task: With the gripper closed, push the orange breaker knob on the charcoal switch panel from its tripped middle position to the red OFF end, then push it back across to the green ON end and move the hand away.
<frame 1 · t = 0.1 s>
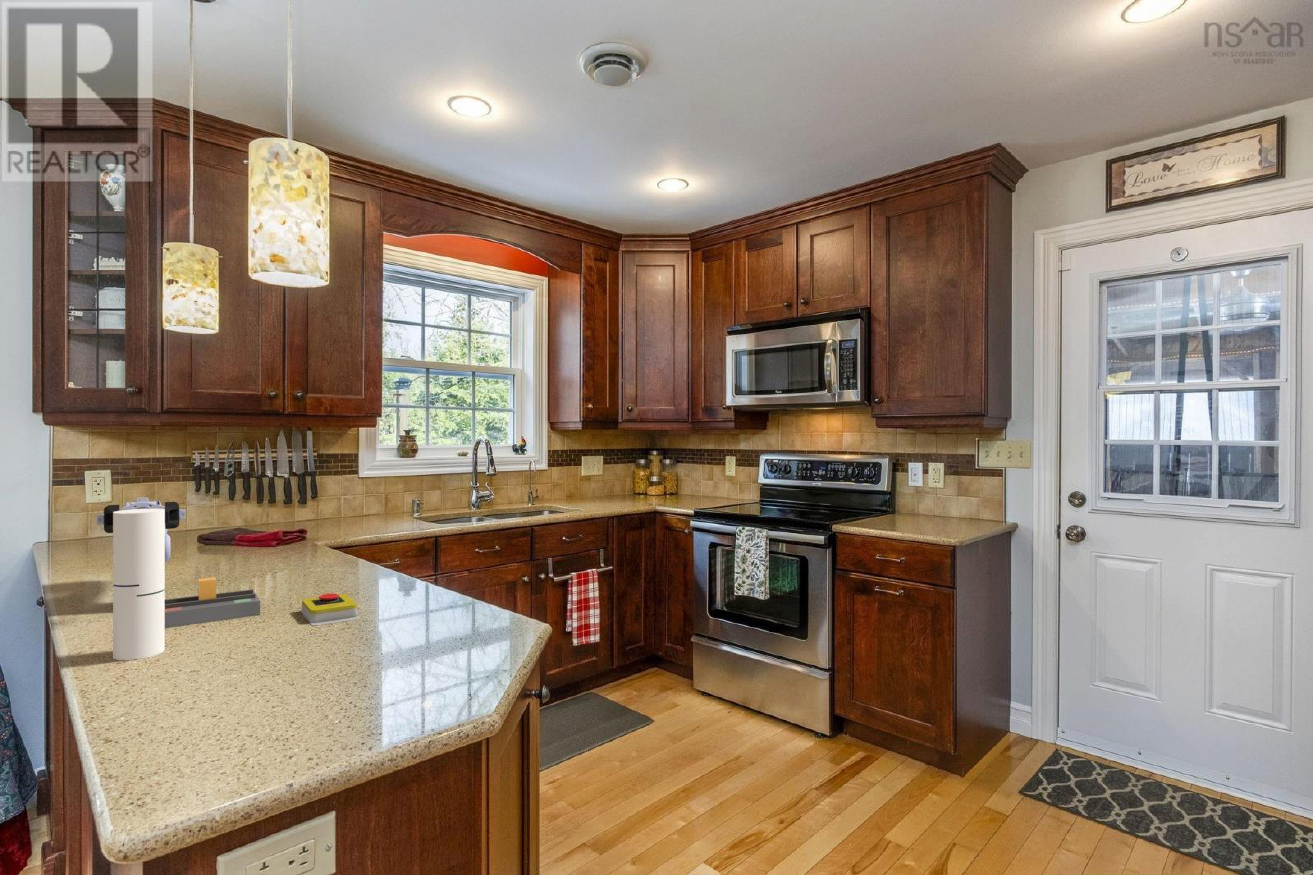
hand: (142, 518, 132), 22 cm above the countertop, tool horizontal, fingers open, 7 cm apart
emergency button: (329, 617, 143), on the countertop
switch panel: (207, 615, 141), on the countertop
cylindrical container: (139, 654, 117), on the countertop
breaker knob: (207, 589, 141), point 5 cm above the countertop, slide at 0.0 cm
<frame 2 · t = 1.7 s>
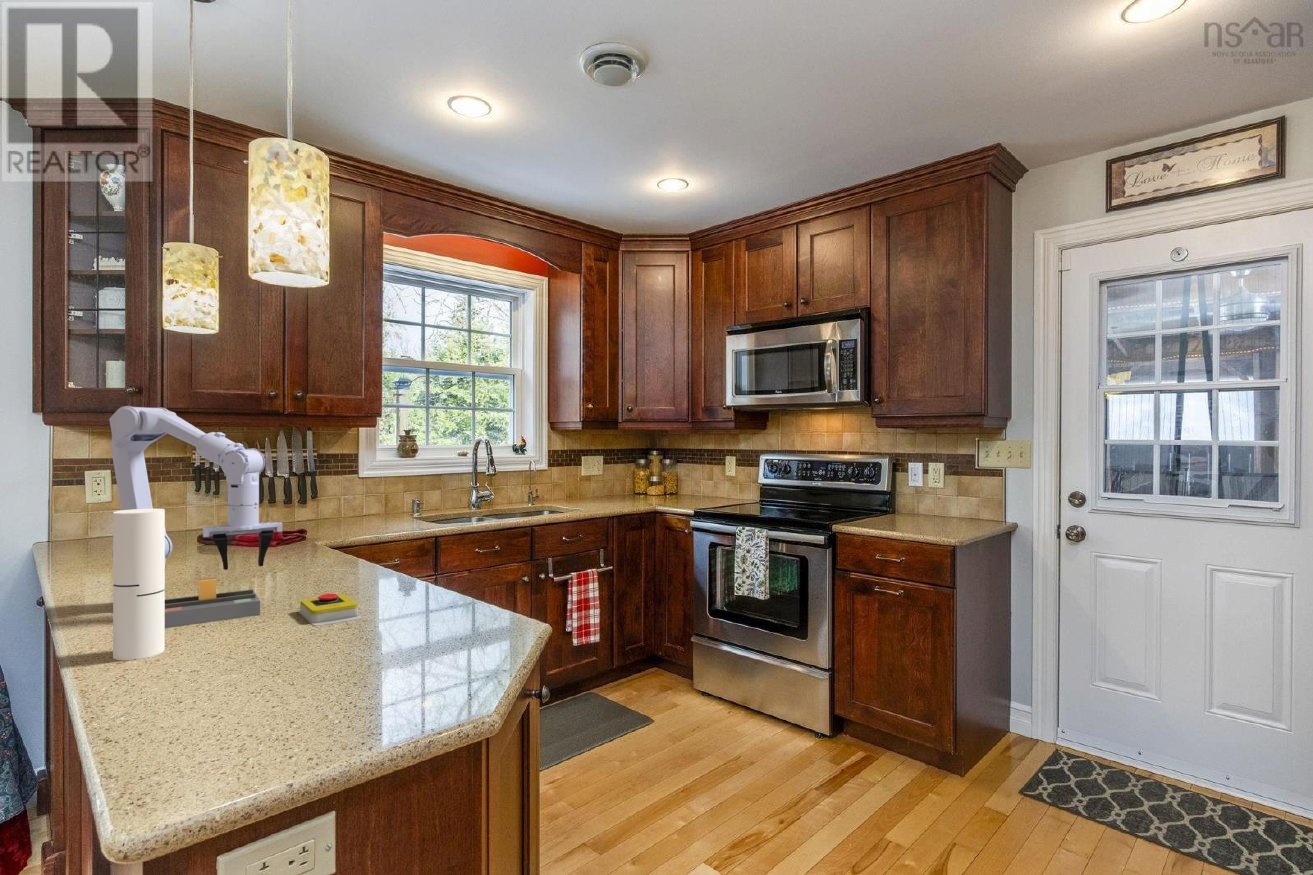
hand: (243, 567, 145), 9 cm above the countertop, tool pointing down, fingers open, 6 cm apart
nothing on the countertop moved.
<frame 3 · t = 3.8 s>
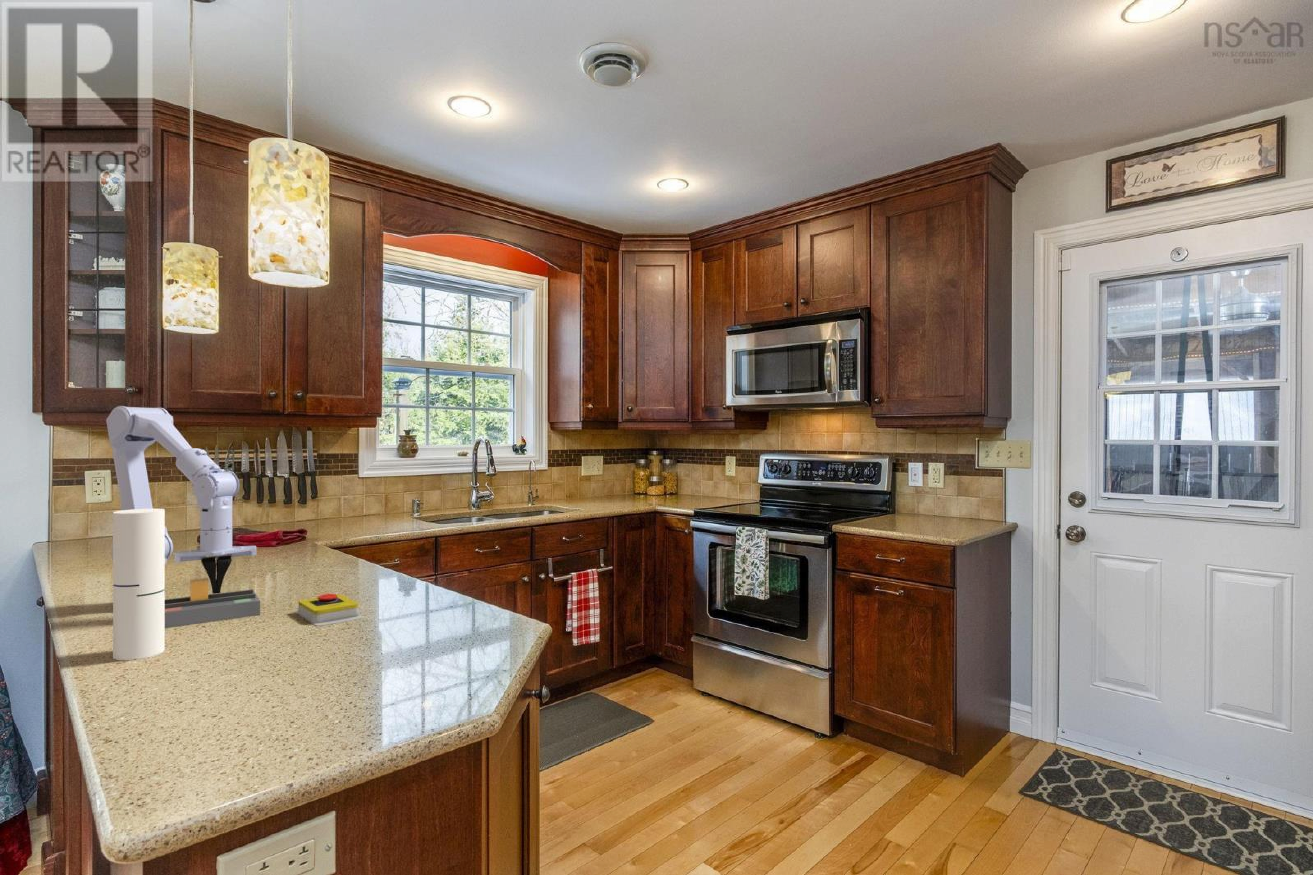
hand: (216, 592, 142), 5 cm above the countertop, tool pointing down, fingers closed
breaker knob: (199, 590, 140), point 5 cm above the countertop, slide at -1.4 cm, touching gripper
everything else where it was.
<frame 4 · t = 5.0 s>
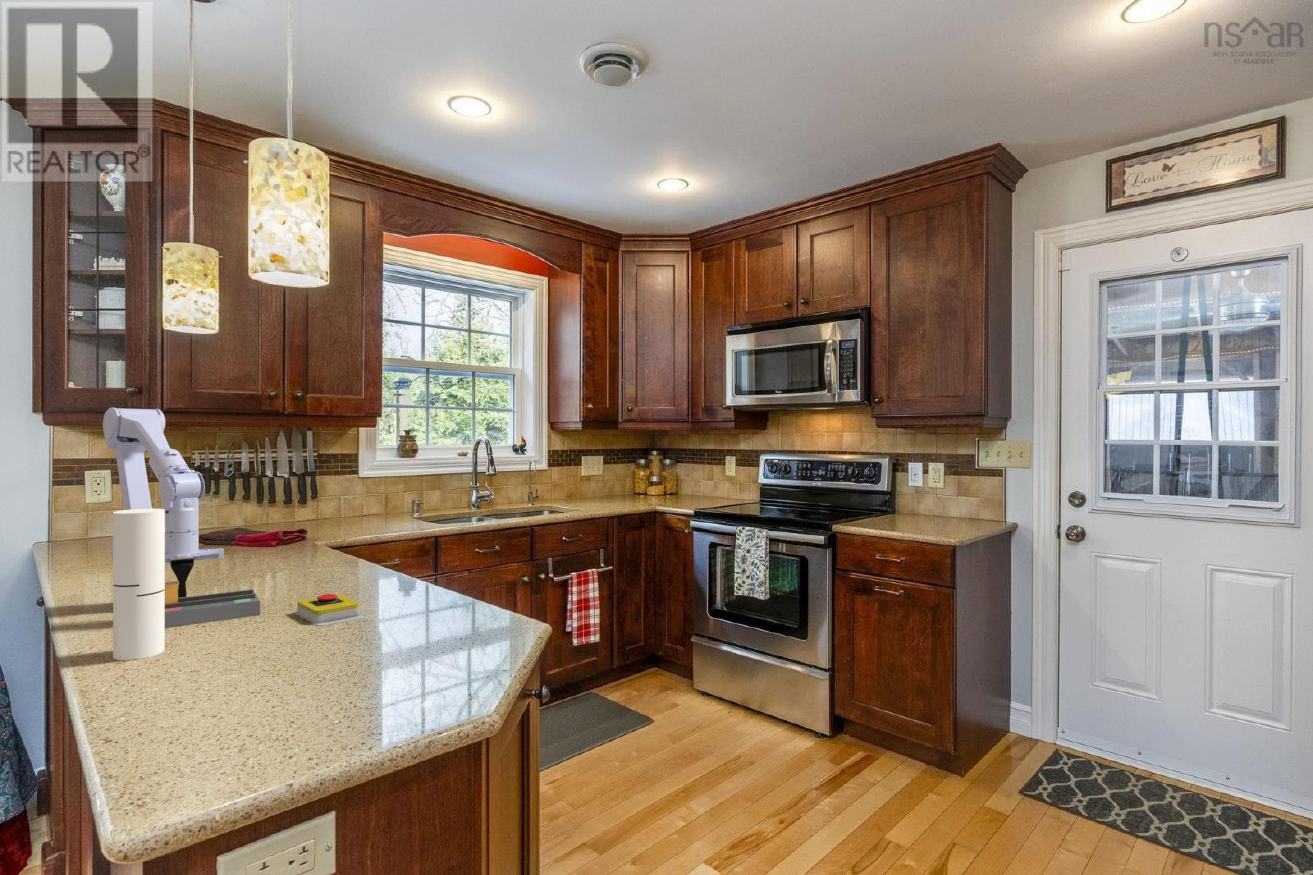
hand: (182, 596, 139), 5 cm above the countertop, tool pointing down, fingers closed
breaker knob: (168, 594, 137), point 5 cm above the countertop, slide at -6.6 cm, touching gripper
everything else where it was.
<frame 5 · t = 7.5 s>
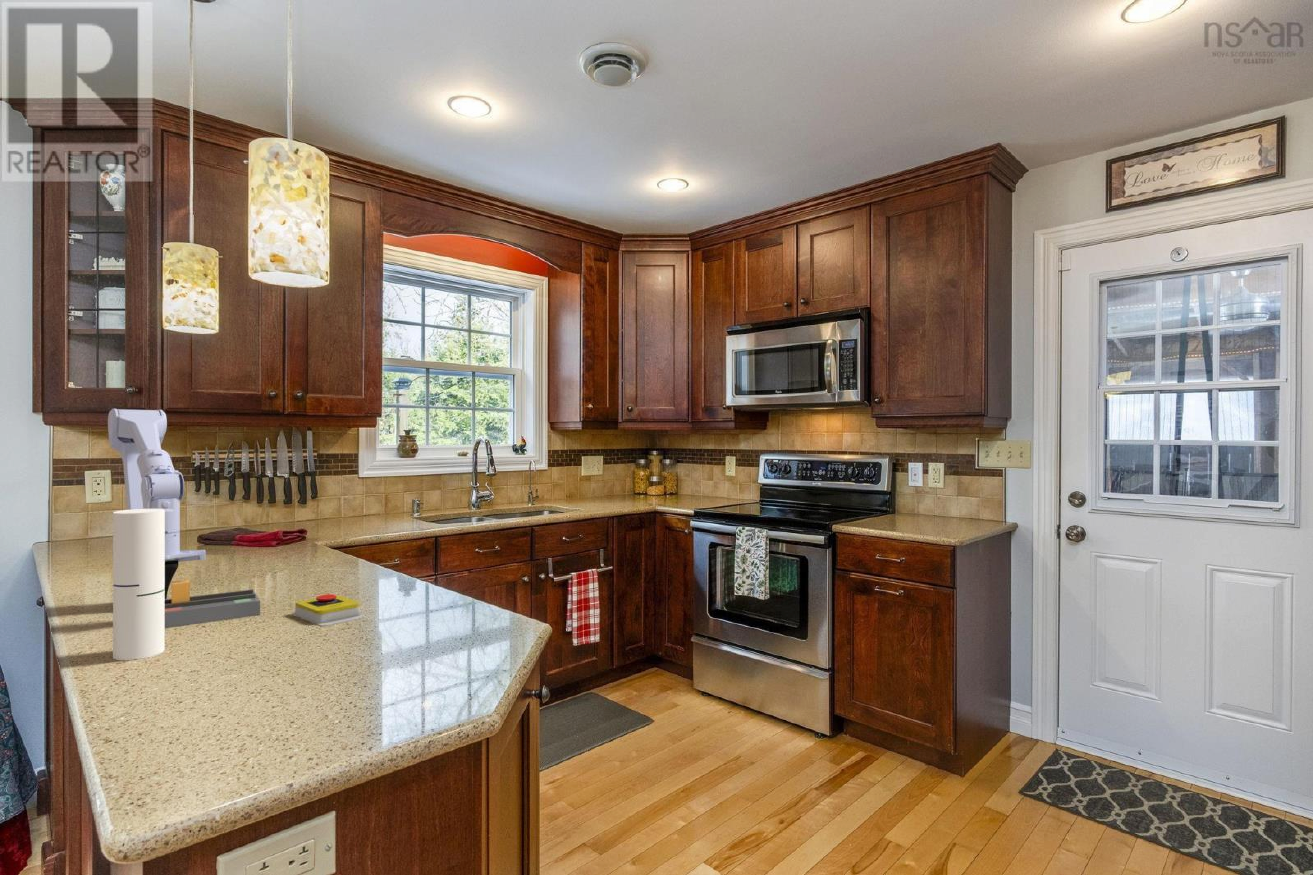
hand: (162, 598, 137), 5 cm above the countertop, tool pointing down, fingers closed
breaker knob: (180, 592, 138), point 5 cm above the countertop, slide at -4.6 cm, touching gripper
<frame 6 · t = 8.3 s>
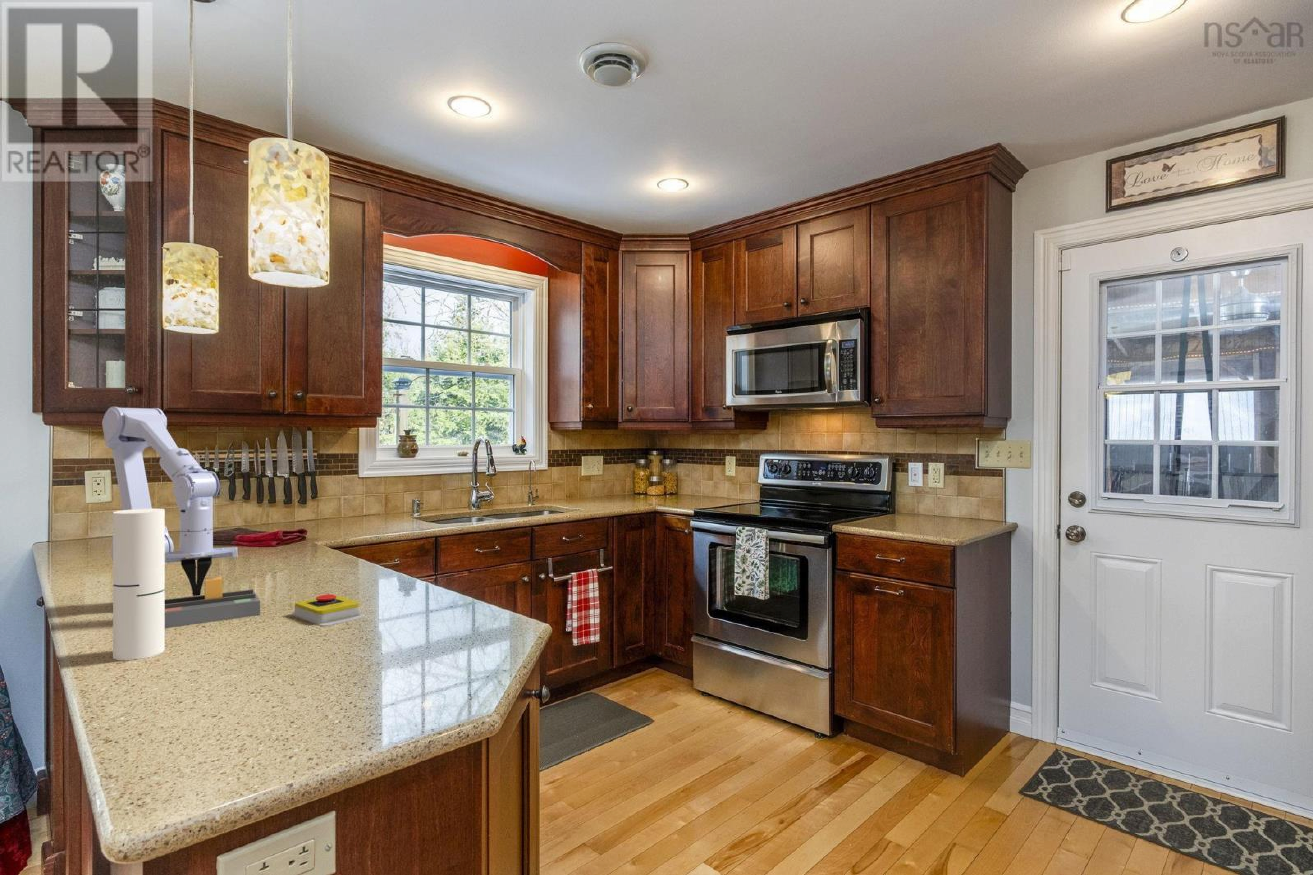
hand: (196, 594, 140), 5 cm above the countertop, tool pointing down, fingers closed
breaker knob: (213, 589, 142), point 5 cm above the countertop, slide at 1.1 cm, touching gripper
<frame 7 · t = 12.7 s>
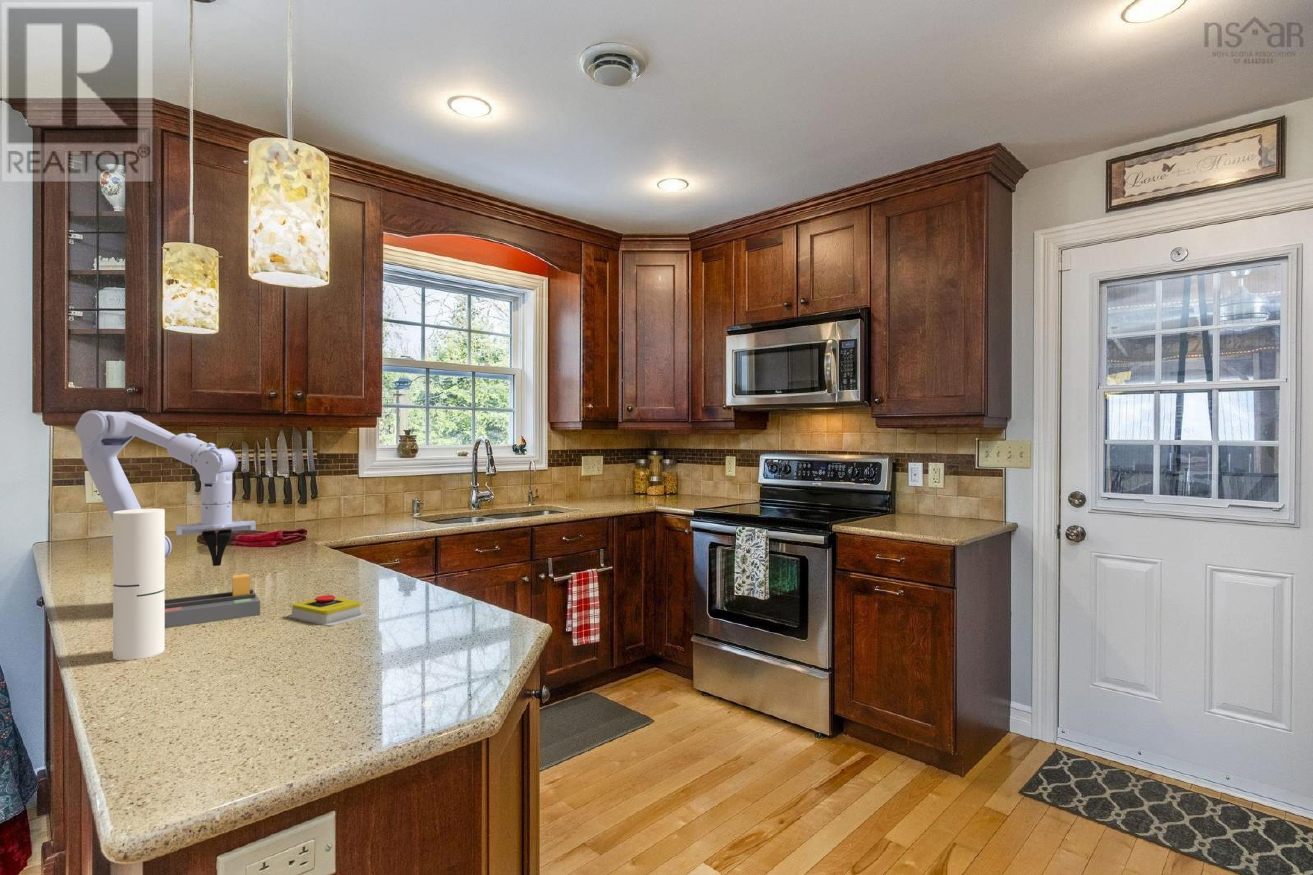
hand: (216, 565, 147), 9 cm above the countertop, tool pointing down, fingers closed
breaker knob: (240, 585, 145), point 5 cm above the countertop, slide at 6.1 cm
at the end: breaker knob slide at 6.1 cm; emergency button moved 1.4 cm from its start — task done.
